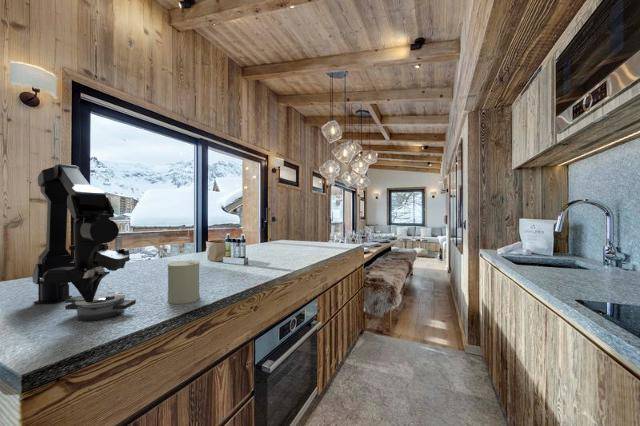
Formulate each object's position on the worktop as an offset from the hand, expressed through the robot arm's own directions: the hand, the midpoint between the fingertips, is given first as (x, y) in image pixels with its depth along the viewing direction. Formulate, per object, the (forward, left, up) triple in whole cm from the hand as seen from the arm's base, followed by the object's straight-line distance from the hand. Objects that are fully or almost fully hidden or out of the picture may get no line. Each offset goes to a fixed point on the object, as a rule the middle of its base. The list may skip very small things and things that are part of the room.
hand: (89, 302), depth 71 cm
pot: (0, +4, -5) cm, 6 cm away
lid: (-1, +4, -1) cm, 4 cm away
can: (+16, +17, -5) cm, 24 cm away
